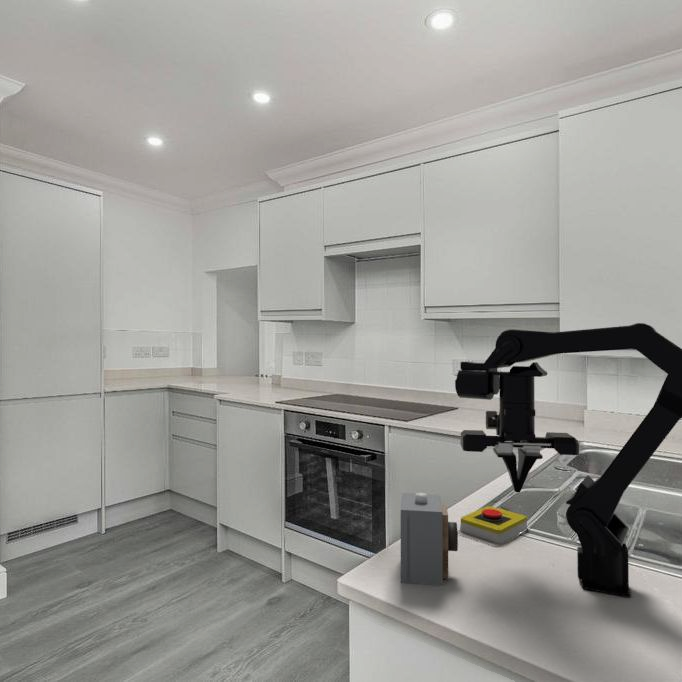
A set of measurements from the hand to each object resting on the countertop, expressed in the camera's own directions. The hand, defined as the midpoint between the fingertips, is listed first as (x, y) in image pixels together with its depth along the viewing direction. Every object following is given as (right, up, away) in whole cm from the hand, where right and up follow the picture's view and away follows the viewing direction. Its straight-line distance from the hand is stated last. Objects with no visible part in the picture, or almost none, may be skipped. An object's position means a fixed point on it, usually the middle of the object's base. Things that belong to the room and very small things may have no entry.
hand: (517, 491), depth 83 cm
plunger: (-15, -12, -4) cm, 19 cm away
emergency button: (+1, -13, +14) cm, 19 cm away
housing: (-17, -12, -4) cm, 21 cm away
